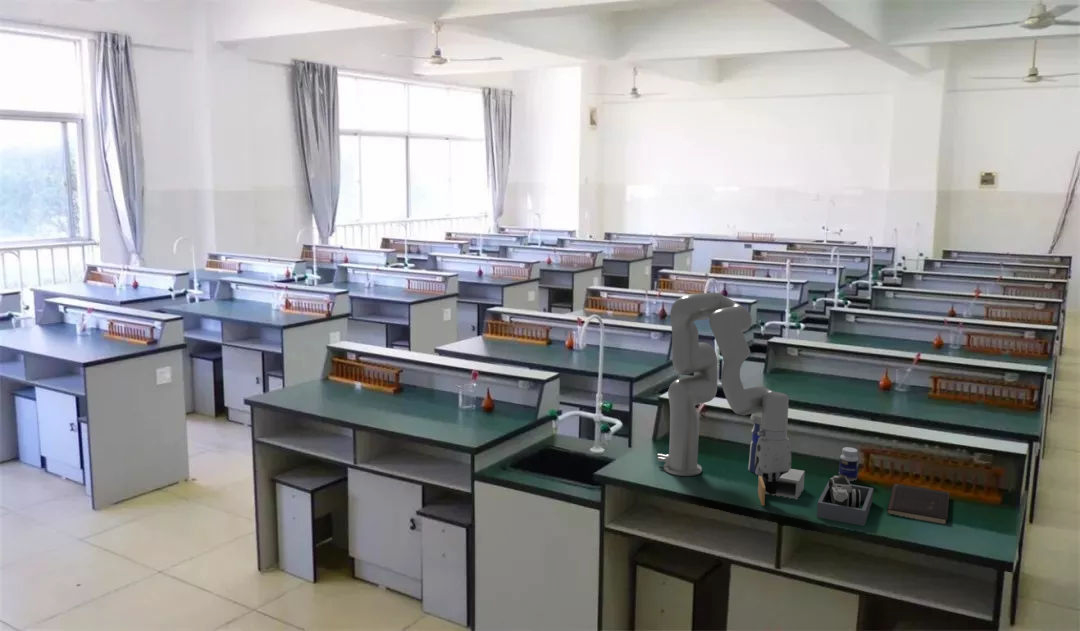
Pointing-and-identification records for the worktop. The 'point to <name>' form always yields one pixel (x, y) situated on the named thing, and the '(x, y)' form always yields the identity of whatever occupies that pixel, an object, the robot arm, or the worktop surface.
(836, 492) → the camera
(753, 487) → the worktop surface
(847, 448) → the pill bottle
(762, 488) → the side door
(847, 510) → the box
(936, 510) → the hardcover book
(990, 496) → the worktop surface
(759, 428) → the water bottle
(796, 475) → the box
